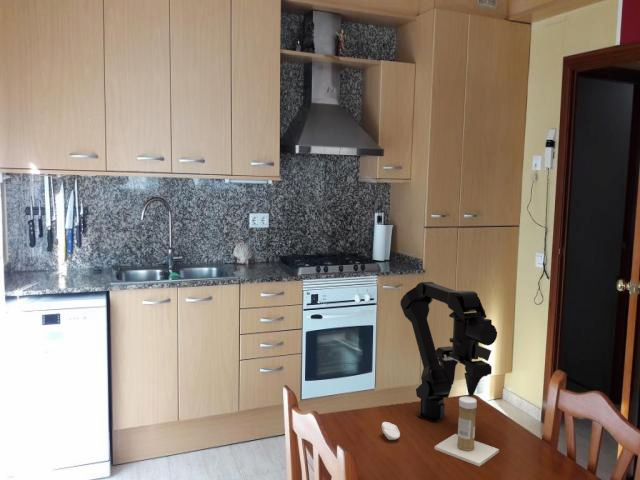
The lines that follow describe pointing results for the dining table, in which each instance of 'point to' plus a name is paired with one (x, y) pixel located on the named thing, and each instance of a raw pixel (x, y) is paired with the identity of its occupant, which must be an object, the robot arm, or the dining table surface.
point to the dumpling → (390, 430)
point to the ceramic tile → (474, 456)
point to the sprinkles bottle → (466, 423)
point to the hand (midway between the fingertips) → (460, 390)
